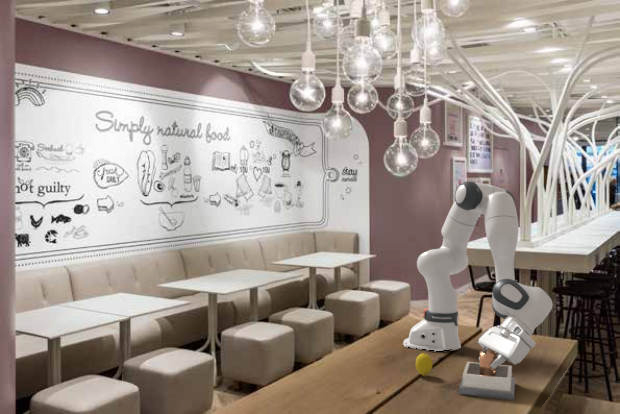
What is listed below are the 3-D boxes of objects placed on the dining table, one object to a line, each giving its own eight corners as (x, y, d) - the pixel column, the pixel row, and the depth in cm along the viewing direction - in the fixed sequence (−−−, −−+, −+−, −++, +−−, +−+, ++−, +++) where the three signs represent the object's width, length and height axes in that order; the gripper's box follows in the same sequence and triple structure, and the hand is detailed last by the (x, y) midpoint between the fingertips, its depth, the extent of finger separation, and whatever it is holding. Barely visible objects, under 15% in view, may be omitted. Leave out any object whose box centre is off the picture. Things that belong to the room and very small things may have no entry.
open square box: (459, 394, 188) (459, 374, 188) (464, 378, 203) (464, 360, 203) (513, 400, 183) (514, 380, 183) (514, 383, 198) (515, 365, 198)
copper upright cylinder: (490, 374, 196) (491, 343, 196) (499, 379, 191) (499, 348, 191) (476, 376, 195) (476, 344, 195) (484, 380, 190) (484, 349, 190)
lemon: (433, 374, 208) (433, 351, 207) (430, 379, 202) (431, 355, 202) (416, 372, 209) (417, 349, 209) (414, 377, 204) (414, 354, 204)
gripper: (490, 317, 204) (463, 348, 202) (526, 332, 184) (496, 367, 182) (502, 330, 205) (476, 361, 203) (539, 346, 185) (509, 380, 184)
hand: (486, 364), depth 193 cm, fingers closed on copper upright cylinder, 5 cm apart
